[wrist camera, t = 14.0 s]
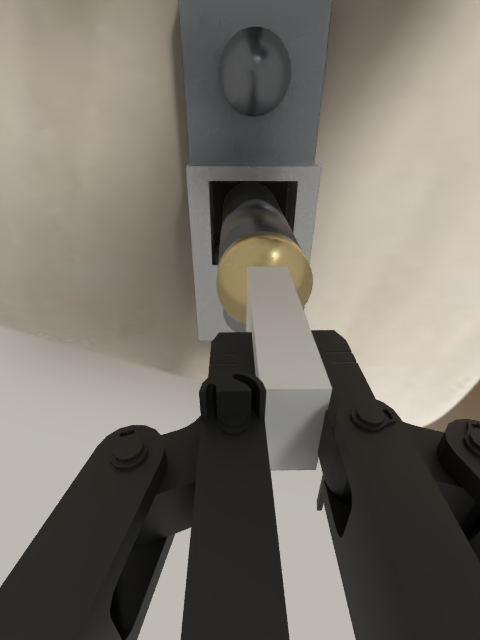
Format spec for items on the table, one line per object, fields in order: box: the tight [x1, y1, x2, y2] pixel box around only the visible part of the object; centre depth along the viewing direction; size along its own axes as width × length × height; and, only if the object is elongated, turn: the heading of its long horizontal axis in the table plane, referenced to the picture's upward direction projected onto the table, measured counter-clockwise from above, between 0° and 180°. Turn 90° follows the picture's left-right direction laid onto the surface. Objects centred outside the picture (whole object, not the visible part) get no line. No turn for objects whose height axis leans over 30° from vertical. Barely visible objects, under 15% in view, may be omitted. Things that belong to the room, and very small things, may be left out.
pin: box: [216, 181, 313, 324], centre depth 19 cm, size 4×4×13 cm
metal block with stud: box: [179, 0, 332, 341], centre depth 22 cm, size 21×8×5 cm, turn 0°
